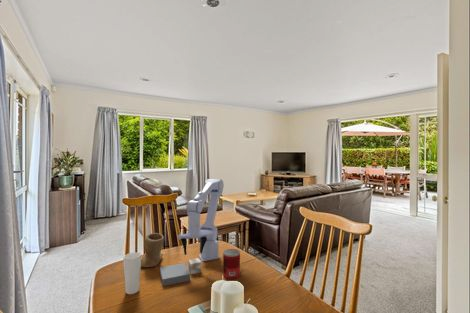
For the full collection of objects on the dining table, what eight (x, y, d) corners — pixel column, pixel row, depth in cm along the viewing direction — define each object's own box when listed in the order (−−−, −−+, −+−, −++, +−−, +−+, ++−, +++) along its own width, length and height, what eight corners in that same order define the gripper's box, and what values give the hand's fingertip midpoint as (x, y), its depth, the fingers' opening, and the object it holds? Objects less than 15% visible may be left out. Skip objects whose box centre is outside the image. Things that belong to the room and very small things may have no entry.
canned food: (243, 274, 113) (243, 251, 113) (231, 281, 107) (231, 256, 107) (231, 269, 118) (231, 247, 118) (219, 275, 112) (219, 252, 112)
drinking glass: (130, 298, 95) (129, 260, 94) (120, 292, 98) (119, 256, 98) (144, 289, 100) (144, 254, 100) (134, 285, 104) (134, 250, 104)
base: (184, 268, 119) (184, 262, 119) (190, 280, 108) (190, 273, 108) (159, 273, 114) (159, 267, 114) (162, 286, 103) (162, 279, 103)
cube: (198, 267, 120) (198, 258, 120) (201, 272, 115) (201, 262, 115) (188, 269, 118) (188, 259, 118) (190, 274, 113) (190, 263, 113)
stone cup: (160, 269, 119) (160, 239, 119) (136, 269, 118) (136, 239, 118) (168, 256, 134) (168, 229, 134) (147, 256, 134) (146, 229, 134)
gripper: (179, 227, 111) (178, 257, 110) (210, 226, 116) (209, 254, 115) (178, 224, 118) (177, 252, 117) (207, 223, 123) (206, 250, 122)
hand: (193, 253), depth 116 cm, fingers open, 7 cm apart
